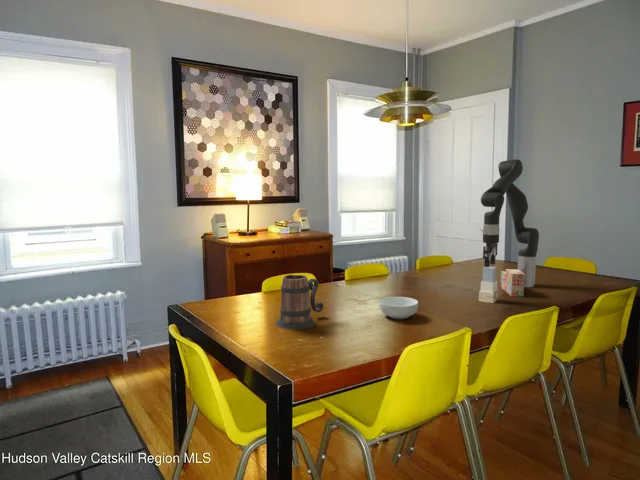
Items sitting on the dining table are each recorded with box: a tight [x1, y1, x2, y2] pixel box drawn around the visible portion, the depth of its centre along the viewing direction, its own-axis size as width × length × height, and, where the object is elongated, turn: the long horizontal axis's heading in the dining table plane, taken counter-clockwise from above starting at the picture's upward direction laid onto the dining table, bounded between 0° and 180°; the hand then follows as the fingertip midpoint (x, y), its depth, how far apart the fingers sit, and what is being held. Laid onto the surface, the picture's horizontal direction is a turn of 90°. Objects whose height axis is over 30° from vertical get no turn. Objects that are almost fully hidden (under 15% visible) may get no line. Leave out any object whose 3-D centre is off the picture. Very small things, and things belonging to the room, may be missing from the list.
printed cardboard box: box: [500, 268, 525, 298], centre depth 245 cm, size 21×6×12 cm, turn 173°
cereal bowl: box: [379, 296, 419, 320], centre depth 200 cm, size 17×17×7 cm
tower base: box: [478, 290, 499, 304], centre depth 227 cm, size 7×7×5 cm
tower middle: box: [479, 280, 498, 293], centre depth 226 cm, size 6×6×5 cm
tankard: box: [275, 274, 324, 331], centre depth 192 cm, size 24×17×20 cm
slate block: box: [481, 265, 497, 283], centre depth 225 cm, size 5×5×7 cm
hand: (489, 265), depth 225 cm, fingers open, 8 cm apart
